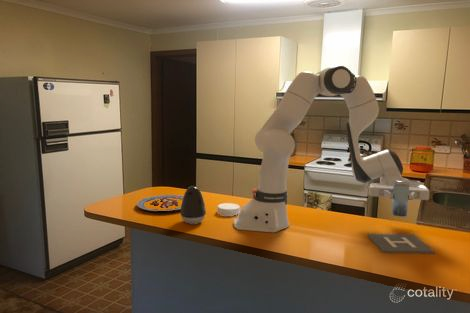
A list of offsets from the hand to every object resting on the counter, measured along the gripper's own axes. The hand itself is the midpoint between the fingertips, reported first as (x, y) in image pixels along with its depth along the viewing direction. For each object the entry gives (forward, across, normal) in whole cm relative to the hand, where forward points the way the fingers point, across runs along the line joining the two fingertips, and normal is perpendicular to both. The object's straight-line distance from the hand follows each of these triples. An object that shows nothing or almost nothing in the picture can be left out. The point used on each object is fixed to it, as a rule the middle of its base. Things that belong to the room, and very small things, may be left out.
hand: (401, 196), depth 126 cm
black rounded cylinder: (+1, -77, +17) cm, 79 cm away
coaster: (-15, -67, +17) cm, 71 cm away
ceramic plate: (-16, -98, +17) cm, 101 cm away
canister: (-1, 0, +6) cm, 7 cm away
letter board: (+1, 0, +17) cm, 17 cm away
